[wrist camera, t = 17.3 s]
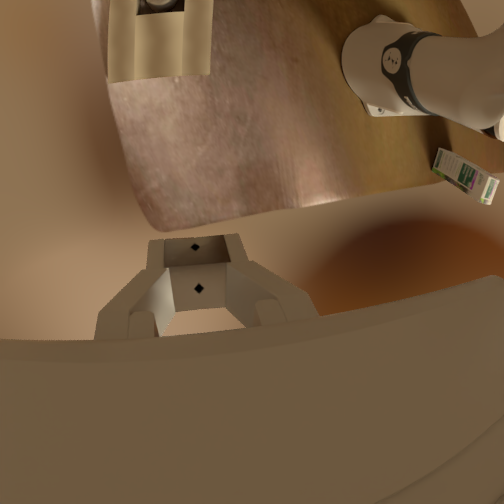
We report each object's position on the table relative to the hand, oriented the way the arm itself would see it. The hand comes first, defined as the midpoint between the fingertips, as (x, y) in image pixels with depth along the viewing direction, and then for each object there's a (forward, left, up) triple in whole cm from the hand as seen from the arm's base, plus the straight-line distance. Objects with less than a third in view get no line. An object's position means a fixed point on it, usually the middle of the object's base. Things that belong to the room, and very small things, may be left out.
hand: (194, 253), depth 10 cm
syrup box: (-52, +6, -34) cm, 63 cm away
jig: (+3, -14, -34) cm, 37 cm away
